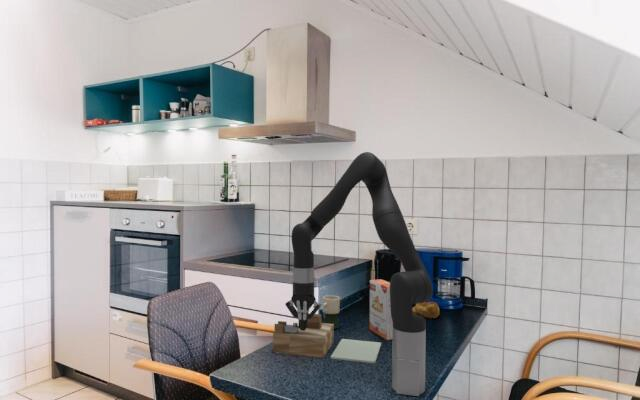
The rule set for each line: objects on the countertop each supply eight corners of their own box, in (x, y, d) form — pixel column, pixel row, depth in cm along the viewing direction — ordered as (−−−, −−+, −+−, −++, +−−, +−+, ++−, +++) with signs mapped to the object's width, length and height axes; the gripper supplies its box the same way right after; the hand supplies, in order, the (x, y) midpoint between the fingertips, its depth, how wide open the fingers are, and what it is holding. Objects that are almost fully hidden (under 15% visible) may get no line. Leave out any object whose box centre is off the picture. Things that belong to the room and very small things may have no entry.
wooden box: (322, 358, 140) (323, 328, 140) (272, 352, 145) (273, 324, 145) (333, 342, 156) (333, 316, 156) (288, 338, 160) (288, 312, 160)
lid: (323, 342, 140) (323, 324, 140) (289, 339, 143) (289, 321, 144) (333, 328, 156) (333, 312, 156) (303, 326, 159) (303, 309, 159)
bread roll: (408, 315, 194) (408, 298, 194) (417, 311, 202) (417, 295, 202) (435, 321, 186) (435, 303, 186) (443, 316, 194) (443, 299, 194)
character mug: (331, 323, 180) (332, 293, 180) (345, 326, 176) (345, 296, 176) (316, 329, 171) (316, 298, 172) (330, 333, 167) (330, 300, 167)
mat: (374, 363, 136) (375, 361, 136) (330, 358, 140) (330, 356, 140) (381, 344, 155) (381, 342, 155) (341, 340, 159) (341, 338, 159)
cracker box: (368, 330, 172) (369, 279, 172) (381, 328, 174) (381, 278, 174) (385, 341, 158) (386, 286, 158) (399, 339, 161) (399, 285, 161)
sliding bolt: (297, 333, 144) (297, 324, 144) (275, 331, 146) (275, 322, 146) (298, 331, 146) (299, 322, 146) (277, 329, 148) (277, 321, 148)
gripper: (281, 281, 143) (281, 331, 143) (319, 283, 139) (318, 335, 139) (289, 277, 150) (288, 325, 150) (324, 279, 147) (324, 328, 147)
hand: (303, 329), depth 145 cm, fingers closed
